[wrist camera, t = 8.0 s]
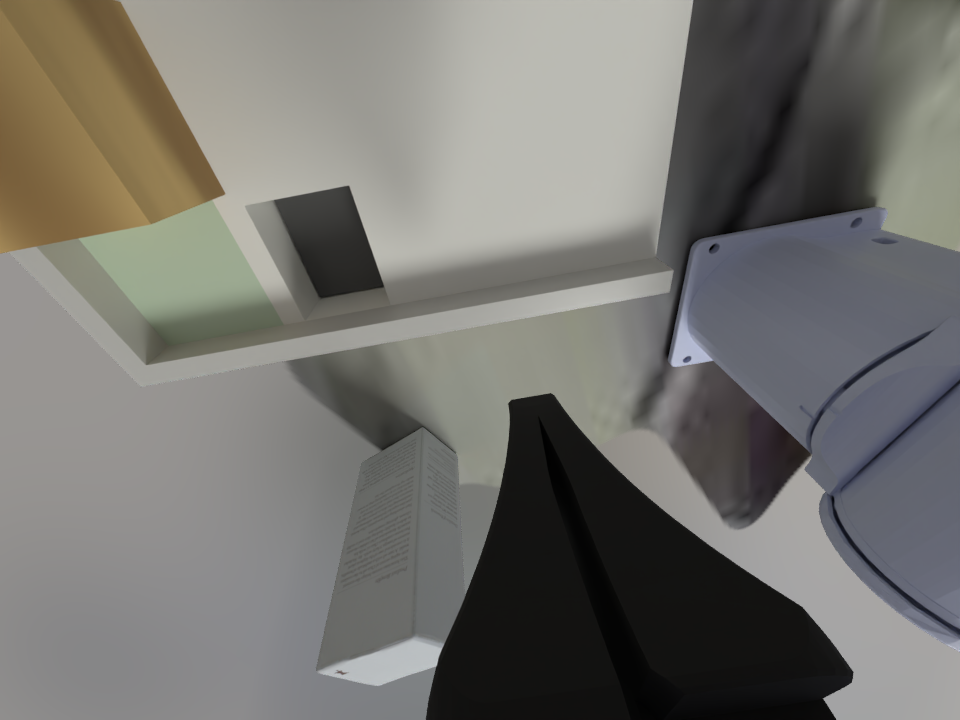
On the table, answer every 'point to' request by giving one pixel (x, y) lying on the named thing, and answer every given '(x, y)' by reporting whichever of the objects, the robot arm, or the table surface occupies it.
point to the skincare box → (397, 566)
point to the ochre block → (87, 127)
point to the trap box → (387, 176)
